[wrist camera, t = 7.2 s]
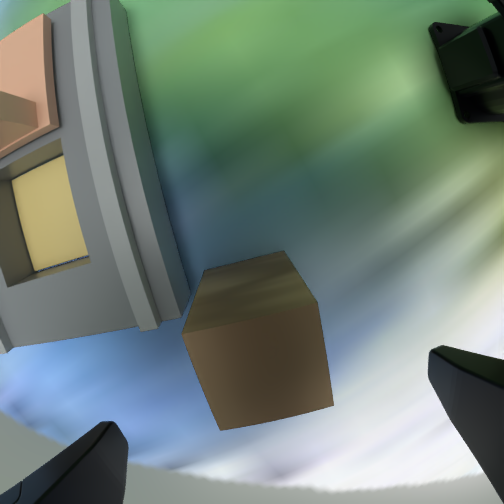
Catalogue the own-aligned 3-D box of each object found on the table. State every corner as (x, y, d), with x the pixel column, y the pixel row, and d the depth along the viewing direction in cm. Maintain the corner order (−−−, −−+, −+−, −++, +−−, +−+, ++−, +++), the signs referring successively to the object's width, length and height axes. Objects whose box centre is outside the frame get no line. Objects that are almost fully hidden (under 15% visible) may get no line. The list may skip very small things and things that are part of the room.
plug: (283, 250, 16) (317, 302, 9) (299, 322, 17) (333, 405, 10) (204, 270, 16) (181, 334, 9) (225, 340, 17) (220, 430, 10)
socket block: (125, 10, 12) (103, -23, 9) (191, 293, 16) (178, 324, 12) (-28, 97, 13) (-64, 89, 9) (21, 329, 16) (-10, 355, 12)
